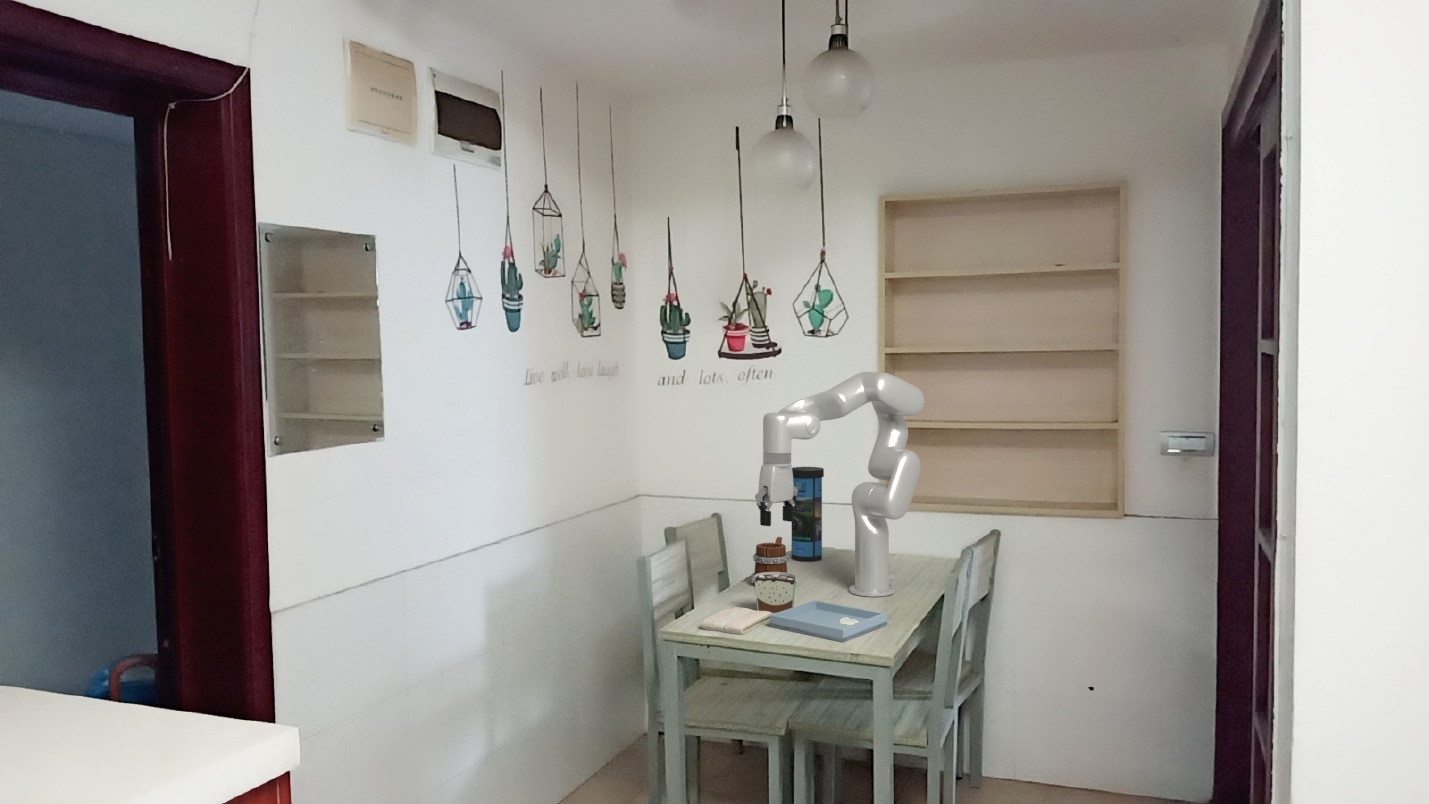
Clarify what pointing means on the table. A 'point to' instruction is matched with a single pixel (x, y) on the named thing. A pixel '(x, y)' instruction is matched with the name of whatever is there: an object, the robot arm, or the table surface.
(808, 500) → the advertising column
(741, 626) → the washcloth
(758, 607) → the food container
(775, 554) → the mug
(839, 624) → the tray
